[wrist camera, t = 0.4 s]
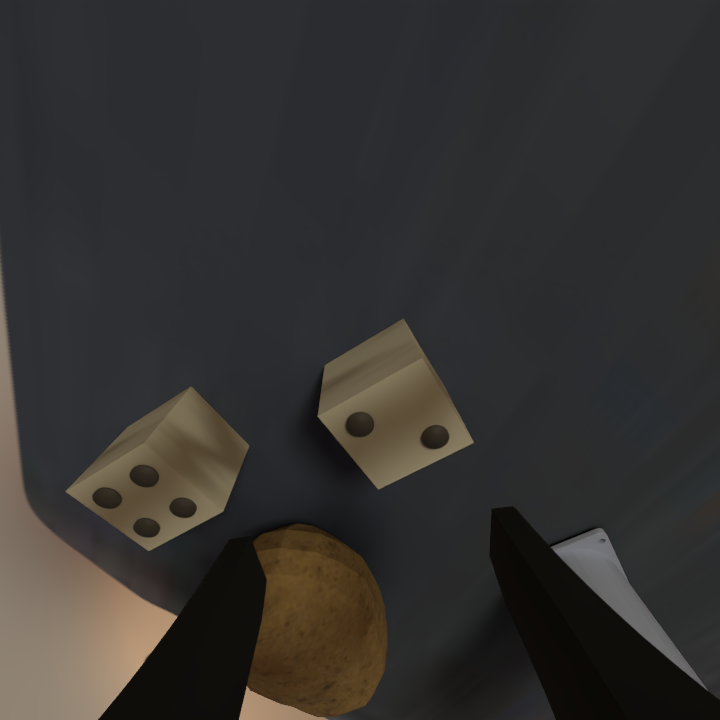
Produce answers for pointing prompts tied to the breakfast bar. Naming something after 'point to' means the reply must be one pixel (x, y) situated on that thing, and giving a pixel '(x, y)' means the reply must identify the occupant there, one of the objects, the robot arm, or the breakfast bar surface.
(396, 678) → the breakfast bar surface
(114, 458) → the pip block four
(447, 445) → the pip block two
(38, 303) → the breakfast bar surface
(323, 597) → the potato
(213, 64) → the breakfast bar surface
